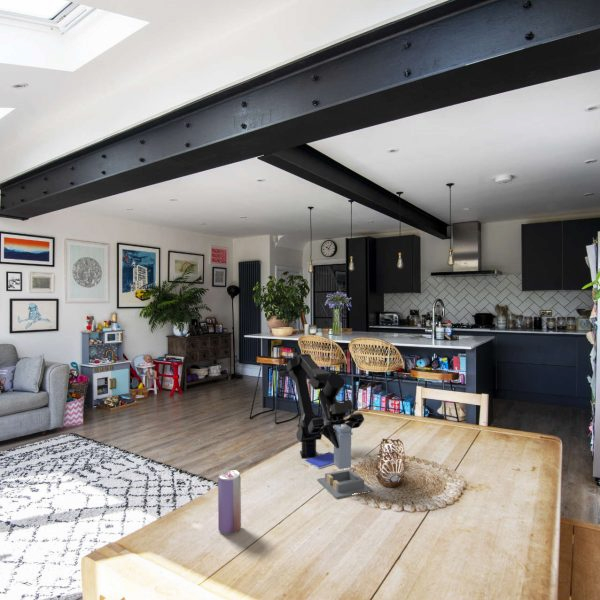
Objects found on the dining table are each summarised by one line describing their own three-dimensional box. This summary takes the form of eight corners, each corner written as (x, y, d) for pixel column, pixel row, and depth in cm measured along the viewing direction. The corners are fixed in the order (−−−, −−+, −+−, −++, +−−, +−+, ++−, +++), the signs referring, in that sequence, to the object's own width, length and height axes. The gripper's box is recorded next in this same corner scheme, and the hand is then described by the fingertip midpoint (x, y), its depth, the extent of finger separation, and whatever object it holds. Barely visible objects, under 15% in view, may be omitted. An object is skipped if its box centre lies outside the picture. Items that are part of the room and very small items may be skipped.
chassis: (317, 480, 146) (317, 471, 146) (351, 474, 151) (351, 465, 151) (336, 499, 133) (336, 489, 133) (372, 491, 138) (372, 482, 138)
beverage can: (222, 538, 112) (221, 481, 112) (215, 527, 118) (215, 472, 117) (244, 532, 115) (243, 476, 115) (236, 521, 121) (236, 468, 120)
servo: (332, 462, 144) (332, 421, 144) (343, 461, 146) (343, 420, 145) (341, 470, 138) (341, 427, 138) (352, 468, 139) (352, 426, 139)
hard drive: (328, 451, 170) (304, 459, 162) (343, 457, 164) (318, 466, 156) (328, 455, 170) (304, 463, 162) (343, 461, 164) (318, 470, 156)
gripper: (311, 394, 142) (325, 438, 132) (361, 389, 148) (378, 431, 138) (302, 411, 149) (314, 455, 139) (351, 406, 156) (366, 447, 146)
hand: (344, 447), depth 140 cm, fingers closed on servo, 4 cm apart
